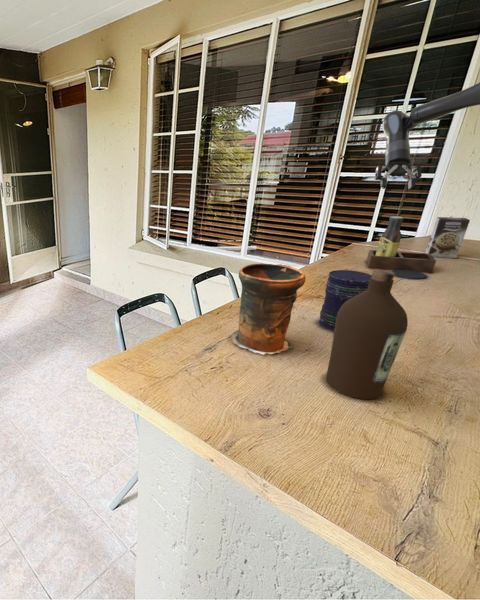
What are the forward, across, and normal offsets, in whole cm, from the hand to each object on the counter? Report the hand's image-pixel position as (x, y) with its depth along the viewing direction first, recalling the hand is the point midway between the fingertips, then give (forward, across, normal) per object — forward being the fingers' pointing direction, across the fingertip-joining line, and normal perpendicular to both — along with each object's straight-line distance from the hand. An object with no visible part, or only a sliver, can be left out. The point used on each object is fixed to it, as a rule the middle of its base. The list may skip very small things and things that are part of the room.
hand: (397, 188), depth 139 cm
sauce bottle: (+29, 0, +13) cm, 31 cm away
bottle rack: (+29, +5, +12) cm, 32 cm away
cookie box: (+15, +27, +27) cm, 41 cm away
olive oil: (+92, -35, -60) cm, 115 cm away
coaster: (+36, +4, +3) cm, 37 cm away
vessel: (+84, -51, -48) cm, 109 cm away
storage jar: (+72, -30, -36) cm, 86 cm away
